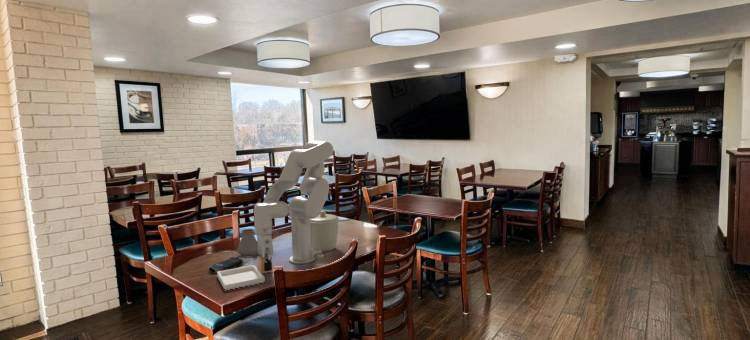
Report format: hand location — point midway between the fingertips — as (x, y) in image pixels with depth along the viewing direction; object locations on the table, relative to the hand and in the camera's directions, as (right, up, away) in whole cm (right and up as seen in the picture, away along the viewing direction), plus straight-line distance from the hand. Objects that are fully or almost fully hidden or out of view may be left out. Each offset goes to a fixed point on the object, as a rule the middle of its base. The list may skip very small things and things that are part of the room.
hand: (265, 267), depth 184 cm
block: (0, -2, 0) cm, 2 cm away
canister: (+22, +2, +33) cm, 40 cm away
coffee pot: (-12, +1, +29) cm, 31 cm away
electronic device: (-20, -2, +6) cm, 21 cm away
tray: (-8, -3, -10) cm, 13 cm away
